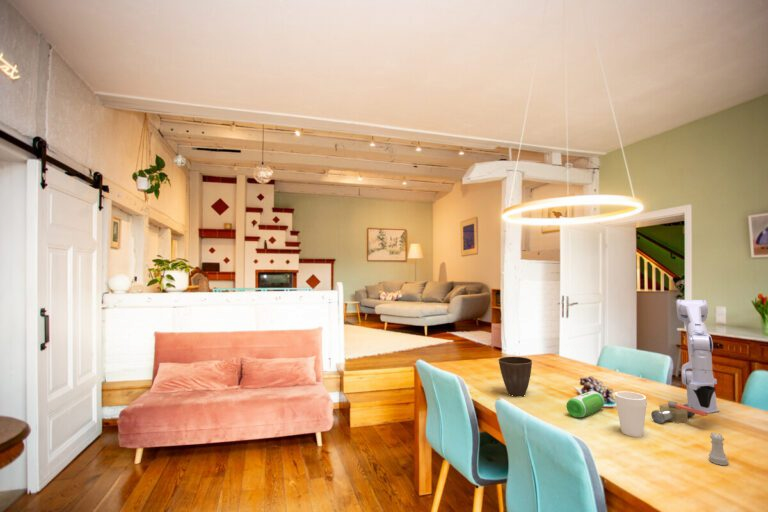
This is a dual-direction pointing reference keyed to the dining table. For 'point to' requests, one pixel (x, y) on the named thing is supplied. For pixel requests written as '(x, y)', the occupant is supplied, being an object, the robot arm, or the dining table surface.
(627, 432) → the foam cup
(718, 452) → the rook chess piece
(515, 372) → the plant pot
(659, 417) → the valve body
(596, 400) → the speaker
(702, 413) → the lever
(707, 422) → the dining table surface
